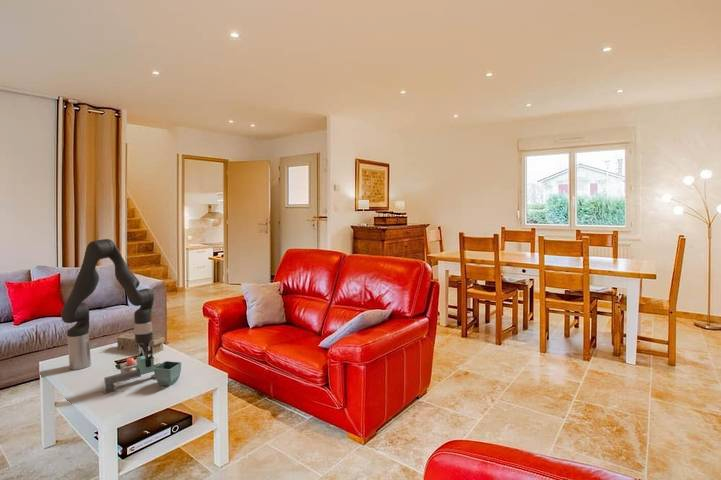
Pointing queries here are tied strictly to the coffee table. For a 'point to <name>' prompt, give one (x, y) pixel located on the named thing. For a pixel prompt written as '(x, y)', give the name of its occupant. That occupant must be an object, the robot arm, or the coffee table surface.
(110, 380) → the handrail
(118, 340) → the block tower
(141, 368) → the carriage
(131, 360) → the button
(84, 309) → the robot arm
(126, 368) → the cabinet
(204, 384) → the coffee table surface
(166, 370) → the flower pot
